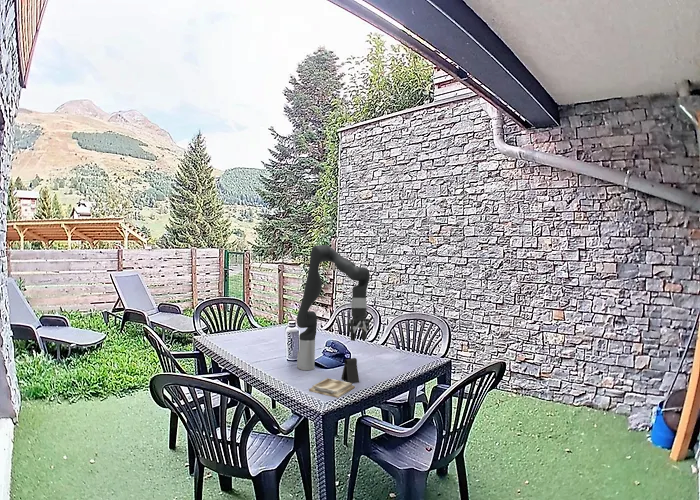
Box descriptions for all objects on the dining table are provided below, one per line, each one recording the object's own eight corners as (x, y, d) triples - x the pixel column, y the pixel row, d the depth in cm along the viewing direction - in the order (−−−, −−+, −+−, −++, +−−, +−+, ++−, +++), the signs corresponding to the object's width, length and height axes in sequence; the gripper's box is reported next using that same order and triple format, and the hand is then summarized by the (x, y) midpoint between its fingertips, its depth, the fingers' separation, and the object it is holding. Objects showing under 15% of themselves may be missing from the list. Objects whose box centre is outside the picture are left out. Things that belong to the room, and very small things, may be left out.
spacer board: (308, 391, 227) (309, 386, 227) (326, 381, 242) (327, 377, 242) (338, 397, 219) (338, 392, 219) (354, 387, 233) (355, 383, 233)
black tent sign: (359, 382, 242) (359, 360, 242) (349, 384, 239) (350, 361, 239) (350, 377, 250) (351, 356, 249) (341, 379, 247) (341, 357, 246)
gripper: (362, 306, 233) (361, 338, 232) (343, 306, 223) (343, 340, 221) (373, 307, 229) (373, 339, 227) (355, 307, 218) (355, 341, 216)
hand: (358, 340), depth 224 cm, fingers open, 8 cm apart
